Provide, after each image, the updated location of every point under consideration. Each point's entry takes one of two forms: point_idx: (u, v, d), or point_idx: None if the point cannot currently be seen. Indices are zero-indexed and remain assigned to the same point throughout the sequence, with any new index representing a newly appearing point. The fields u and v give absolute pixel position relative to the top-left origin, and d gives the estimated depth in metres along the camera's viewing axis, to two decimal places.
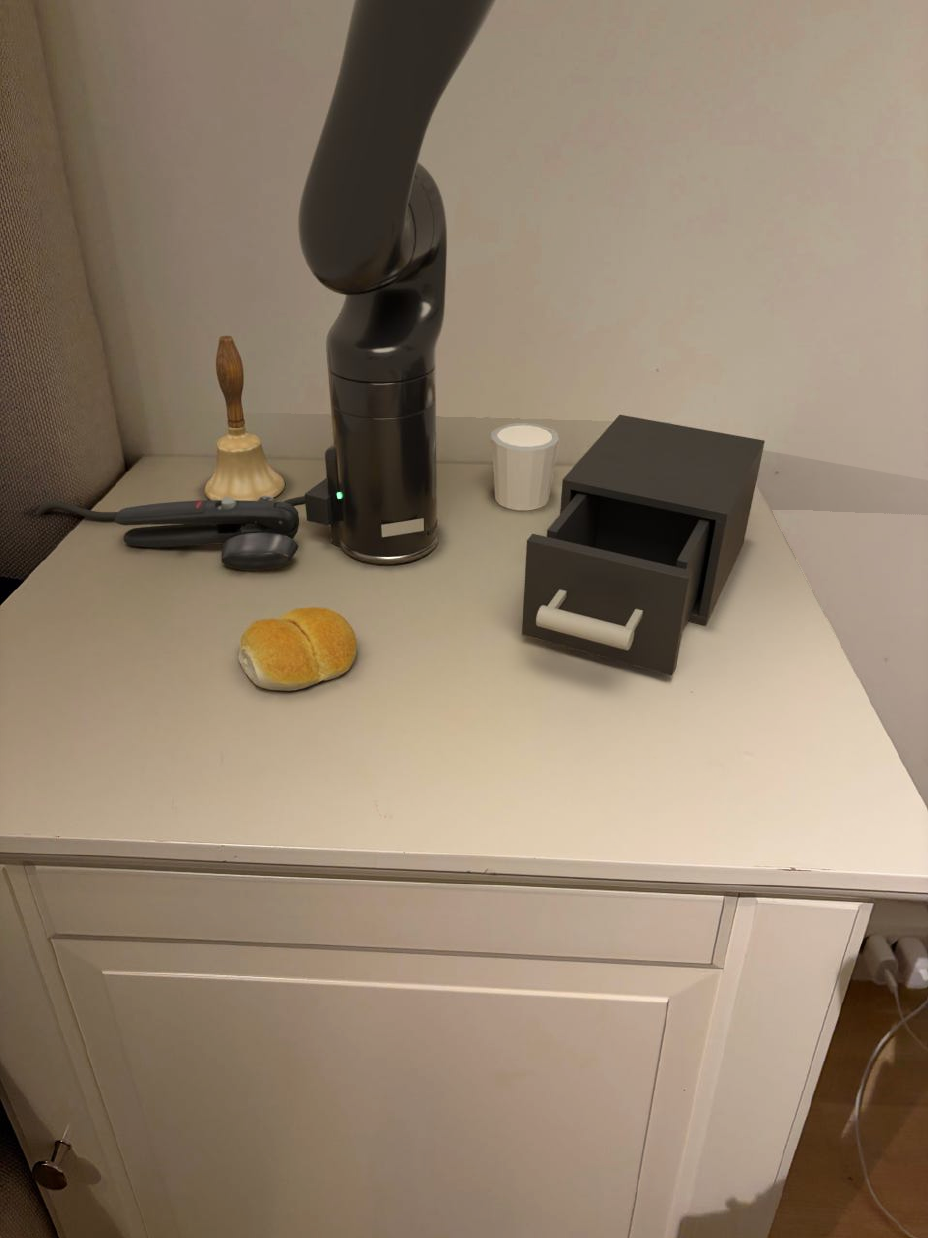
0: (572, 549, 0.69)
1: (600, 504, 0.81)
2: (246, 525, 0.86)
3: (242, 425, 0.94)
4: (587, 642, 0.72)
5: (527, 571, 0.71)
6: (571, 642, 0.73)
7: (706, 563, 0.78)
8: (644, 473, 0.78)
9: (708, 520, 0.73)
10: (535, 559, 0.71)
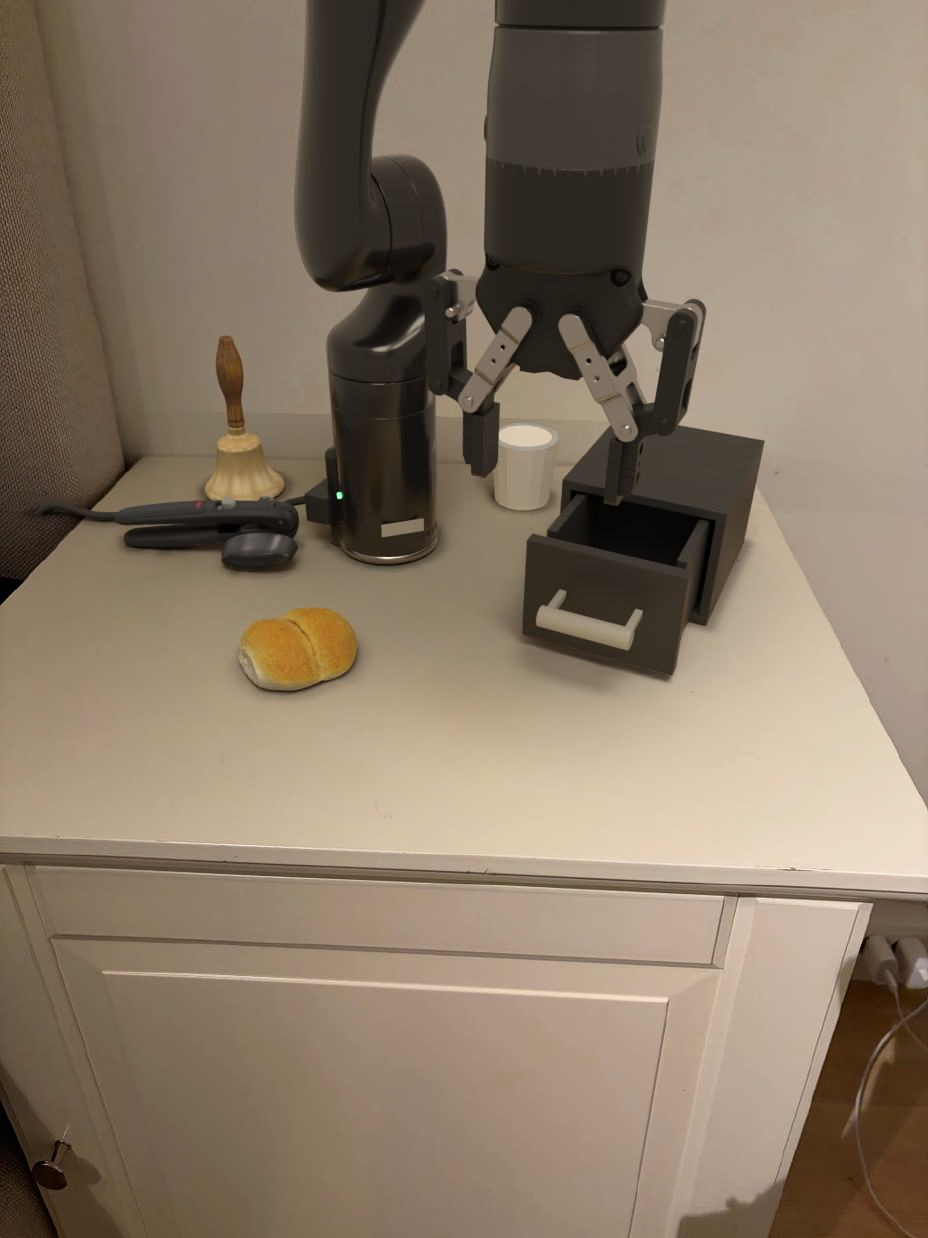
0: (572, 549, 0.69)
1: (600, 504, 0.81)
2: (246, 525, 0.86)
3: (242, 425, 0.94)
4: (587, 642, 0.72)
5: (527, 571, 0.71)
6: (571, 642, 0.73)
7: (706, 563, 0.78)
8: (644, 473, 0.78)
9: (708, 520, 0.73)
10: (535, 559, 0.71)
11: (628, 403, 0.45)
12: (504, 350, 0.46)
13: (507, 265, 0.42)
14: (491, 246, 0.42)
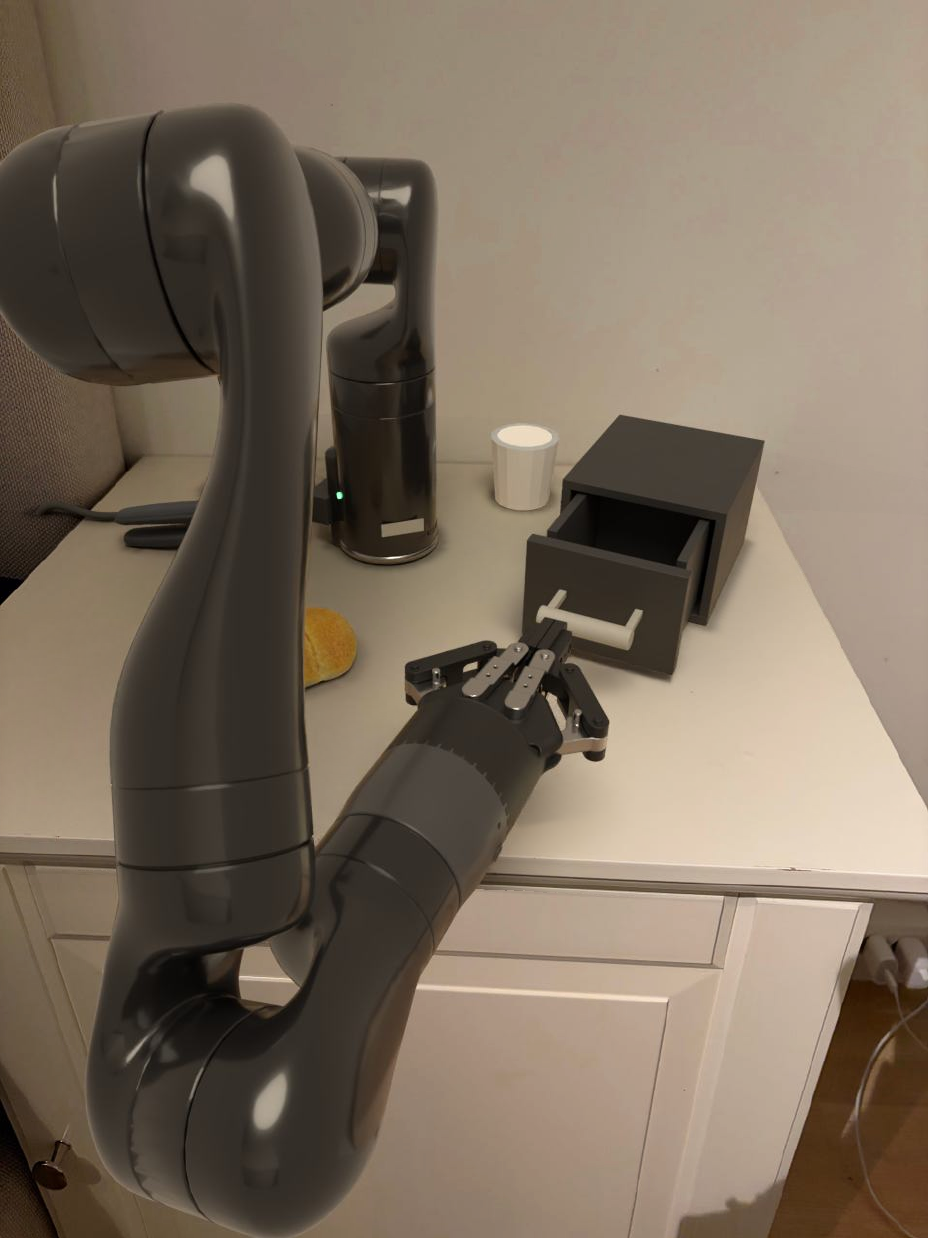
0: (572, 549, 0.69)
1: (600, 504, 0.81)
2: None
3: None
4: (587, 642, 0.72)
5: (527, 571, 0.71)
6: None
7: (706, 563, 0.78)
8: (644, 473, 0.78)
9: (708, 520, 0.73)
10: (535, 559, 0.71)
11: (547, 696, 0.55)
12: None
13: None
14: None
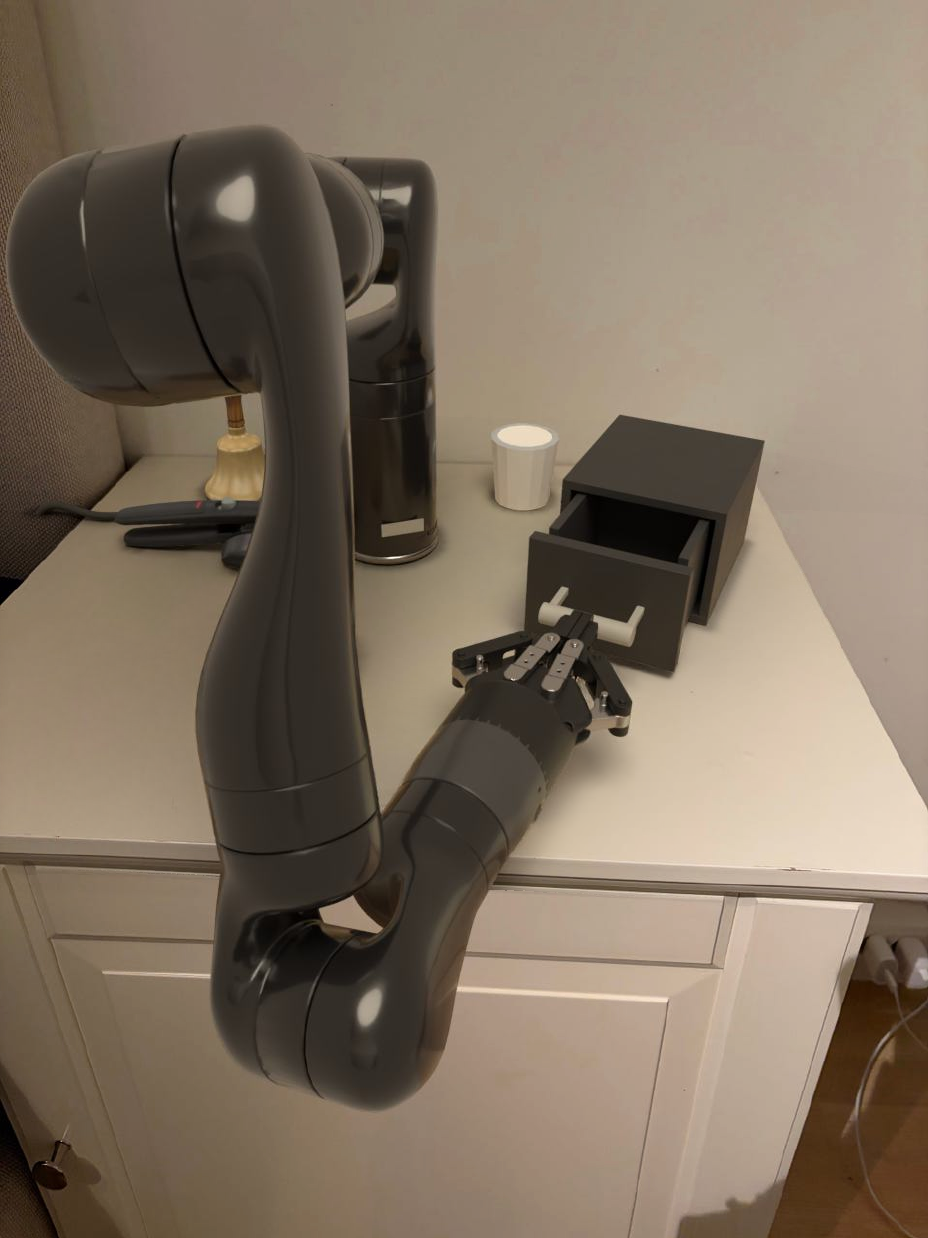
0: (574, 546, 0.69)
1: (602, 502, 0.82)
2: (246, 525, 0.86)
3: (242, 425, 0.94)
4: None
5: (529, 568, 0.72)
6: None
7: (707, 560, 0.78)
8: (644, 473, 0.78)
9: None
10: (537, 556, 0.71)
11: (576, 680, 0.63)
12: None
13: None
14: None
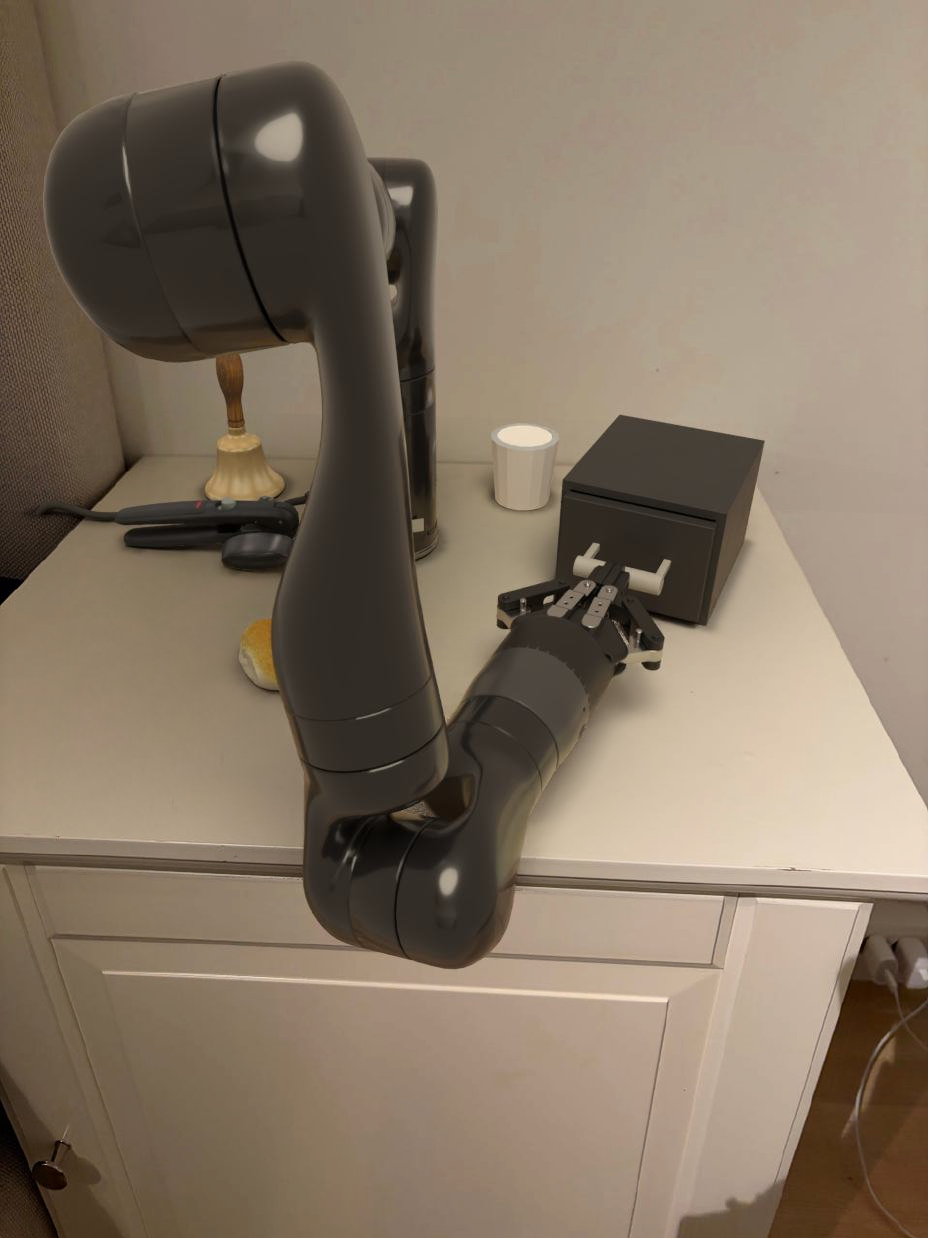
0: (606, 504, 0.75)
1: None
2: (246, 525, 0.86)
3: (242, 425, 0.94)
4: None
5: (563, 526, 0.77)
6: None
7: None
8: (644, 473, 0.78)
9: None
10: (571, 514, 0.77)
11: None
12: None
13: None
14: None
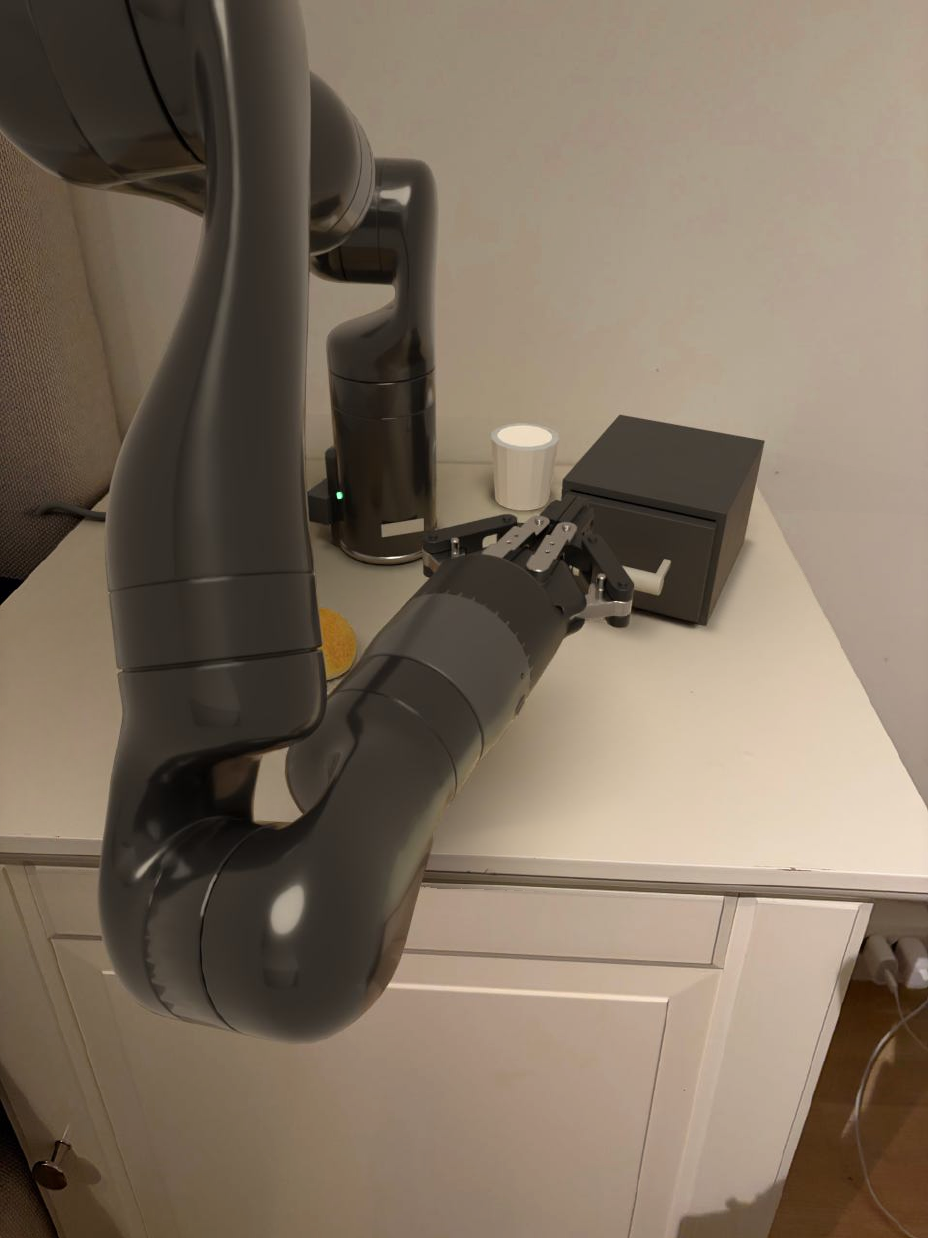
0: (606, 504, 0.75)
1: None
2: None
3: None
4: None
5: None
6: None
7: None
8: (644, 473, 0.78)
9: None
10: None
11: None
12: None
13: None
14: None
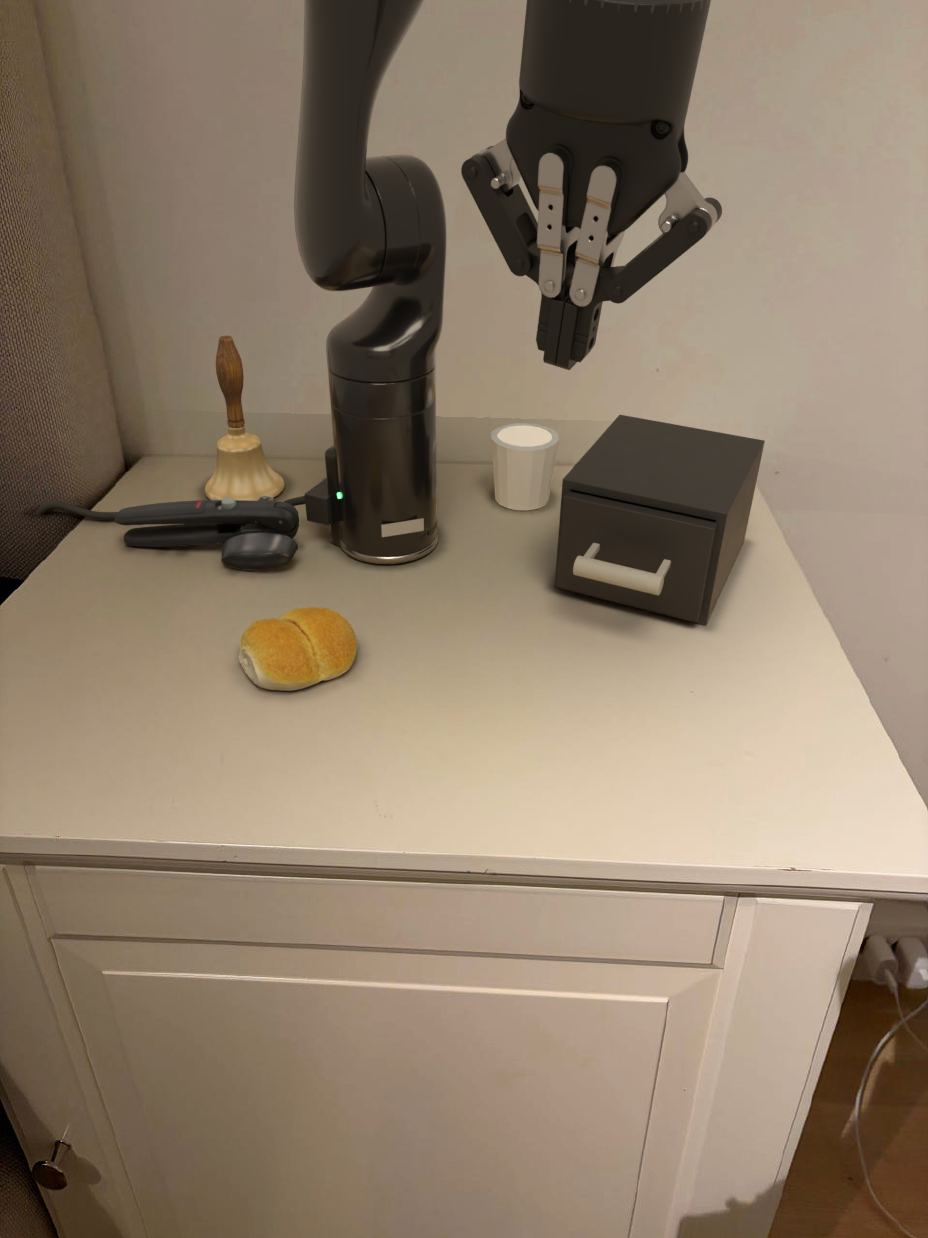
0: (606, 504, 0.75)
1: None
2: (246, 525, 0.86)
3: (242, 425, 0.94)
4: (618, 592, 0.78)
5: (563, 526, 0.77)
6: (603, 592, 0.79)
7: None
8: (644, 473, 0.78)
9: None
10: (571, 514, 0.77)
11: (599, 274, 0.45)
12: (553, 209, 0.43)
13: (542, 106, 0.39)
14: (526, 83, 0.39)
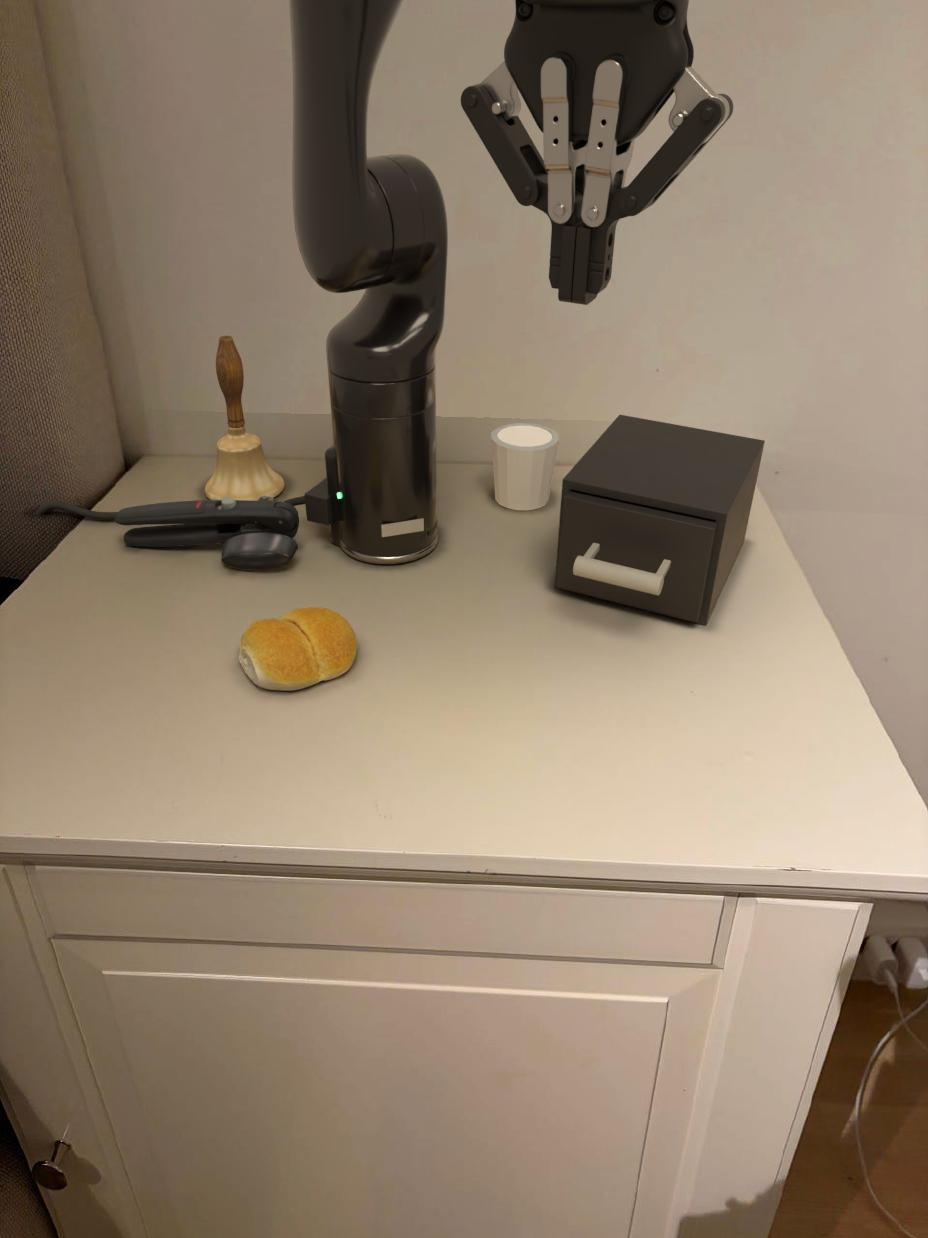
0: (606, 504, 0.75)
1: None
2: (246, 525, 0.86)
3: (242, 425, 0.94)
4: (618, 592, 0.78)
5: (563, 526, 0.77)
6: (603, 592, 0.79)
7: None
8: (644, 473, 0.78)
9: None
10: (571, 514, 0.77)
11: (611, 189, 0.43)
12: (559, 120, 0.42)
13: None
14: None
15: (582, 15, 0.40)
